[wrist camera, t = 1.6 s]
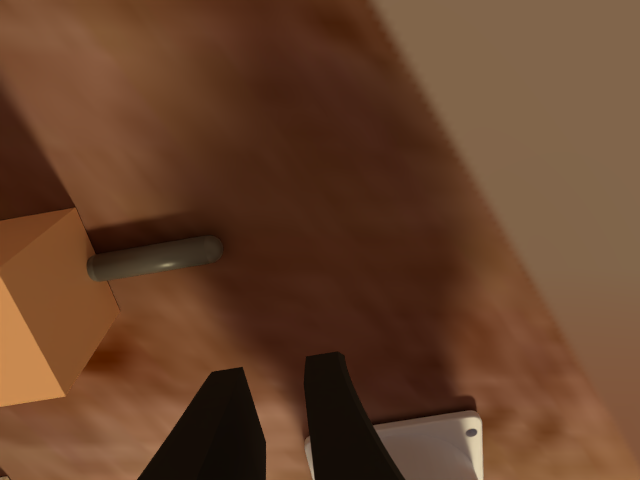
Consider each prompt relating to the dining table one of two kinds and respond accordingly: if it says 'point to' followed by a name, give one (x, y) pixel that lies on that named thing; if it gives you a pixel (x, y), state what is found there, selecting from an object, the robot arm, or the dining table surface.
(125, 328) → the dining table surface
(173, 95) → the dining table surface
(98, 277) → the tan handled block
